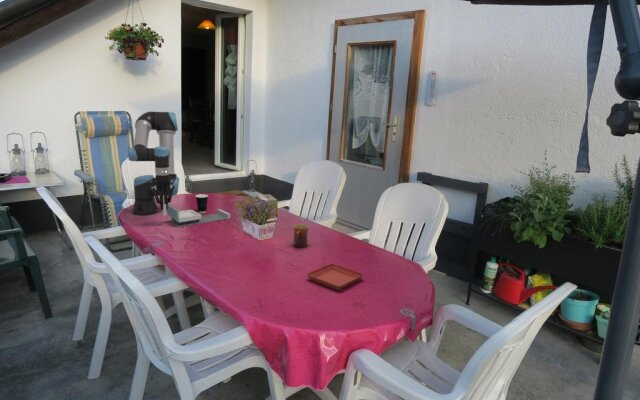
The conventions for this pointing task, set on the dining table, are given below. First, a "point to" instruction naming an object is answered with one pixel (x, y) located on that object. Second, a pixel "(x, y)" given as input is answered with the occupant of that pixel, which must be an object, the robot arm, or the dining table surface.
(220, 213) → the track
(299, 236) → the mug
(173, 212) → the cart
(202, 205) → the dixie cup
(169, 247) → the dining table surface
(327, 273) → the plant saucer
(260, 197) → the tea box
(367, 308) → the dining table surface
